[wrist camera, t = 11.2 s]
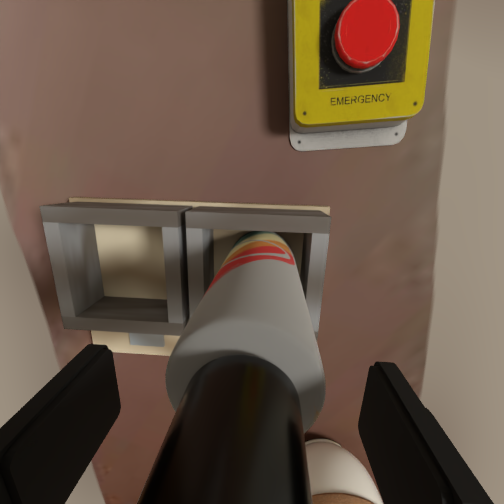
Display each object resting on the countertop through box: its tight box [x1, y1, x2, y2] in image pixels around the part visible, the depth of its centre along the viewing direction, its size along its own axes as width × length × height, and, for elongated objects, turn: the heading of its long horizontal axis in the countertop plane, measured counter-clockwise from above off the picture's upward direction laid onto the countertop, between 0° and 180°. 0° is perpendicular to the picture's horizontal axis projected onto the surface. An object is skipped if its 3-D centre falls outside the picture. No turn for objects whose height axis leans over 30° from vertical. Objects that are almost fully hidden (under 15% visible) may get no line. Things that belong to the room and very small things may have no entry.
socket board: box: [40, 197, 331, 356], centre depth 23 cm, size 16×23×5 cm
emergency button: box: [287, 0, 435, 151], centre depth 18 cm, size 9×4×15 cm
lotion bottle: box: [137, 231, 325, 504], centre depth 14 cm, size 6×6×20 cm
